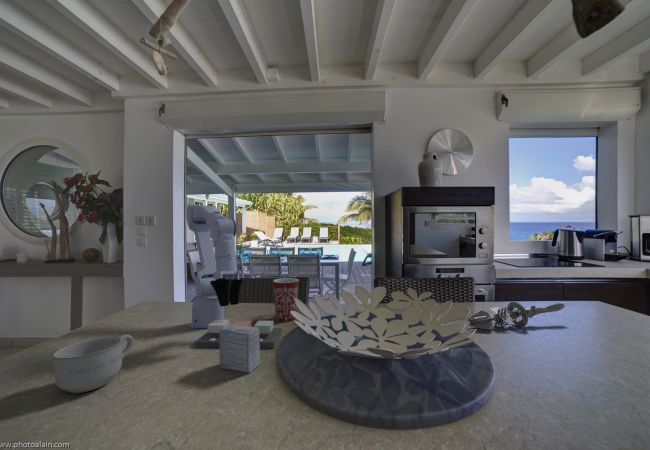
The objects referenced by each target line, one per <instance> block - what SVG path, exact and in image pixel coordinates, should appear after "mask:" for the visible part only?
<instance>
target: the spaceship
mask: <svg viewBox="0 0 650 450" xmlns="http://www.w3.org/2000/svg"><path fill="white" fill-rule="evenodd" d="M565 306H566V305H565V304H564V303H561V302H559V303H552V304H549V305H545V306H544V305H543V306H537V305H535V304H533V305H531V306H530V307H525V306H523V305H522V304H521V303H520V302H518V301H514V300H513V301H510V302H509V303H508V304H507V306H506V307H501V308H500V307H498V306H496V307H491V308H489V309H490V310H492V311H493V312H491V313H489V312H487V311H485V310H480V311H478V312H476V313H475V314H472V316H470V317H469V318H468V319H467V321H468V322H469V323H468V325H469V327H473V328H476V329H480V330H481V329H482V330H489V329H491V327H492V326H493V322H492V321H494V327H498V325H500V326H501V327H502V328H504V329H505V328H509V327H512V325H511V324H510V323H509V322H511V323H513V325H515V326H516V325H518V326H517V327H519V326H520V327H519V328H524V327H526V326H528V323H529V319H531V318H534V316H537V315H540V314H546V313H553V312H554V313H555V312H559V311H561V310H563V309H565Z"/></svg>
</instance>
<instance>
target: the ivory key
mask: <svg viewBox="0 0 650 450" xmlns="http://www.w3.org/2000/svg"><path fill="white" fill-rule="evenodd" d="M227 326H230V320H228V321H222V320H214V321H213V322H212V323H210V324H209V325H208V328H207V332H208V333H220V330H222V329H223V328H225V327H227Z"/></svg>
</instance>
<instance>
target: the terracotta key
mask: <svg viewBox="0 0 650 450" xmlns="http://www.w3.org/2000/svg"><path fill="white" fill-rule="evenodd" d="M231 325H241V326H249V327H252V320H235V321H234V322H233V323H231Z"/></svg>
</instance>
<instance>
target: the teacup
mask: <svg viewBox="0 0 650 450" xmlns="http://www.w3.org/2000/svg"><path fill="white" fill-rule="evenodd" d="M124 340H126V346H125V347H124V348H123V344H122V343H123V342H124ZM134 342H135V341H134V338H133V336H132V335H130V334H122V335H120V336H119V337H118V336H102V337H96V338H92V339H88V340H87V339H86V340H83V341H79V342H76V343H72V344H70V345H67V346H65V347H63V348H59V349H58V350H57V351H55V352H54V353H53V355H52V358H53V361H54V362H53V364H54V365H53V367H54V379H55V384H56V386H57V387H58V388H59V389H60V390H62V391H66V392H68V393H72V394H81V393H86V392H90V391H94V390H96V389H99V388H101V387H104V386H105V385H106V384H108V383H109V382H111V380H113V378H114V377H115V376H116V375H117V374H118V373H119V371H121V368H122V366H123V365H122V364H123V359H124V358H125V357H126V356H127V355H128V353H130V351H131V350H132V348H133V346H134Z"/></svg>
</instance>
